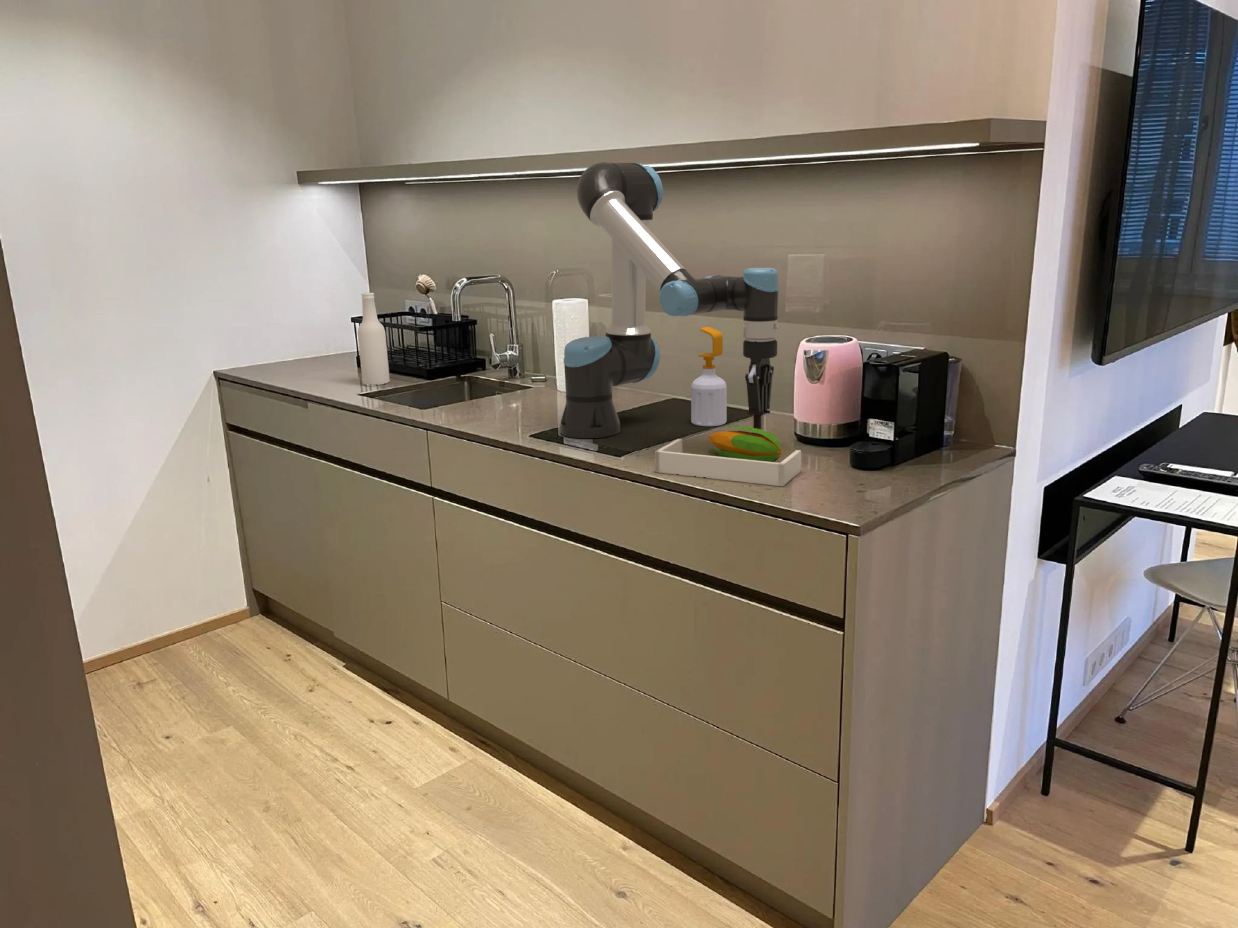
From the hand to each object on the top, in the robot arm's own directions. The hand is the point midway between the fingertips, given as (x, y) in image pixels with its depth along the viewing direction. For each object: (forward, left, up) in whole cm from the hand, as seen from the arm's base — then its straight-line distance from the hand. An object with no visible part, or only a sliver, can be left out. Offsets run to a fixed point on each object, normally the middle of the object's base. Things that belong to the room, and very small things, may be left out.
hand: (759, 442), depth 213 cm
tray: (0, -20, -2) cm, 20 cm away
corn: (-1, -9, -2) cm, 10 cm away
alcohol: (-146, +37, -2) cm, 151 cm away
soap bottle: (-21, +22, -2) cm, 30 cm away
